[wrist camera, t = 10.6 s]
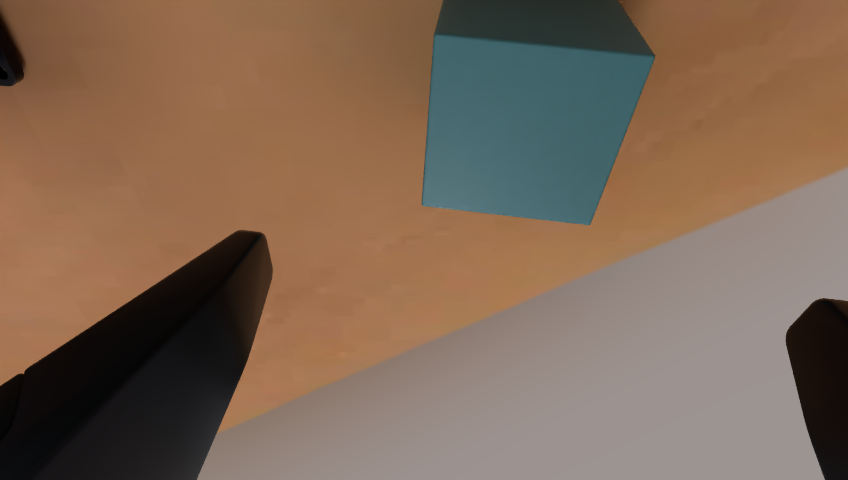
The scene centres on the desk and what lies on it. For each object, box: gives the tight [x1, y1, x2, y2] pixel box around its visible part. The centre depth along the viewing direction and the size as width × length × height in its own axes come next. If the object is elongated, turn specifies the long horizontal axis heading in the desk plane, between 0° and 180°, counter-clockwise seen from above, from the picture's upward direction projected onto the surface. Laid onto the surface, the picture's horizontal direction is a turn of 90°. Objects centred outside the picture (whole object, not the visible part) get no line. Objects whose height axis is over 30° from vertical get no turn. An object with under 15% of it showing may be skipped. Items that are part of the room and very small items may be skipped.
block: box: [422, 0, 655, 225], centre depth 13 cm, size 5×5×5 cm
